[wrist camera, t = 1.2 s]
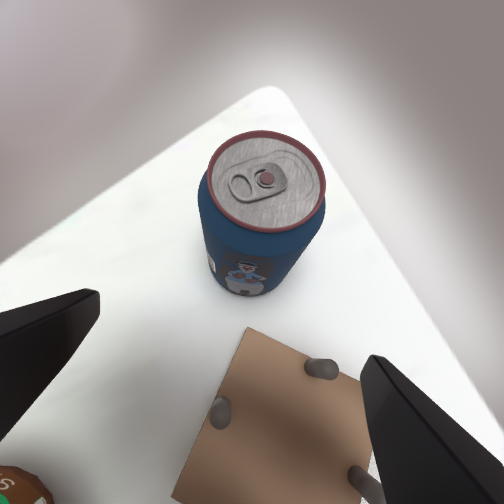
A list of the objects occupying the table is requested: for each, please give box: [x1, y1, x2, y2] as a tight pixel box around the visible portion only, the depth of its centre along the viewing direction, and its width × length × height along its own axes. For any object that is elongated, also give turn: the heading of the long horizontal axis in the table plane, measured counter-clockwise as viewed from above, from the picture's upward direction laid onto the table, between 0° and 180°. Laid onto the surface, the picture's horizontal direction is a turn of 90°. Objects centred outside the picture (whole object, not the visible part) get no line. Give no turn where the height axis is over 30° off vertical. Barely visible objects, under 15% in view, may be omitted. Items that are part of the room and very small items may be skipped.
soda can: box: [198, 130, 326, 296], centre depth 18 cm, size 7×7×12 cm
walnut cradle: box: [171, 327, 386, 504], centre depth 17 cm, size 11×11×5 cm
